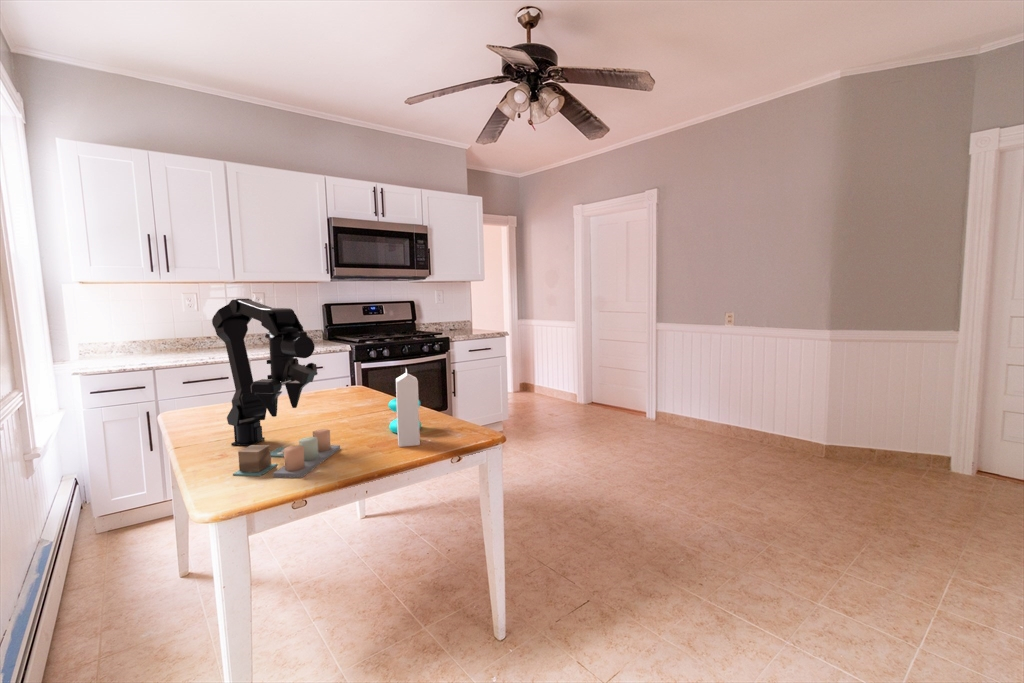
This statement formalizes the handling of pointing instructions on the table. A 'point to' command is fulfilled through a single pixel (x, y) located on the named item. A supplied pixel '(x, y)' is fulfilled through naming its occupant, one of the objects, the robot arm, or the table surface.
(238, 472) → the pad two
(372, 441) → the table surface
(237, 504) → the table surface
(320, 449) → the board
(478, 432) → the table surface
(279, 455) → the pad three
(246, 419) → the robot arm
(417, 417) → the milk
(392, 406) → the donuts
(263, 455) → the brown cube
